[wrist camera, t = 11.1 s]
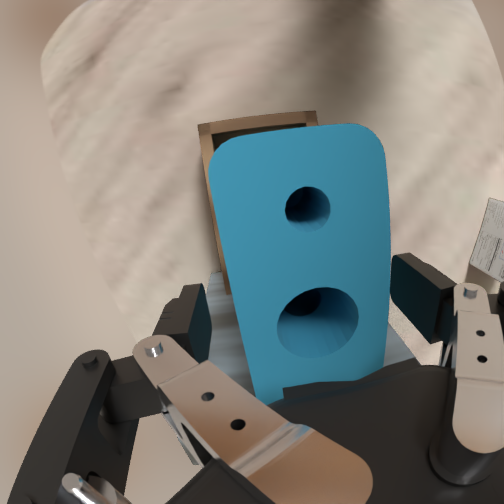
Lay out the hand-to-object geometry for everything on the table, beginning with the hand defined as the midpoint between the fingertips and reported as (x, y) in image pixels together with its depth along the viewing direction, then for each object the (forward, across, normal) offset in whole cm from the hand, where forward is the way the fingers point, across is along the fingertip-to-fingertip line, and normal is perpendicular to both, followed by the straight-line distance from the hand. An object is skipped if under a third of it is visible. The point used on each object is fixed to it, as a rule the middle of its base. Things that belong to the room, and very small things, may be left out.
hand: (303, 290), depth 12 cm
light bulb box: (+20, -34, +8) cm, 41 cm away
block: (+18, 0, 0) cm, 18 cm away
